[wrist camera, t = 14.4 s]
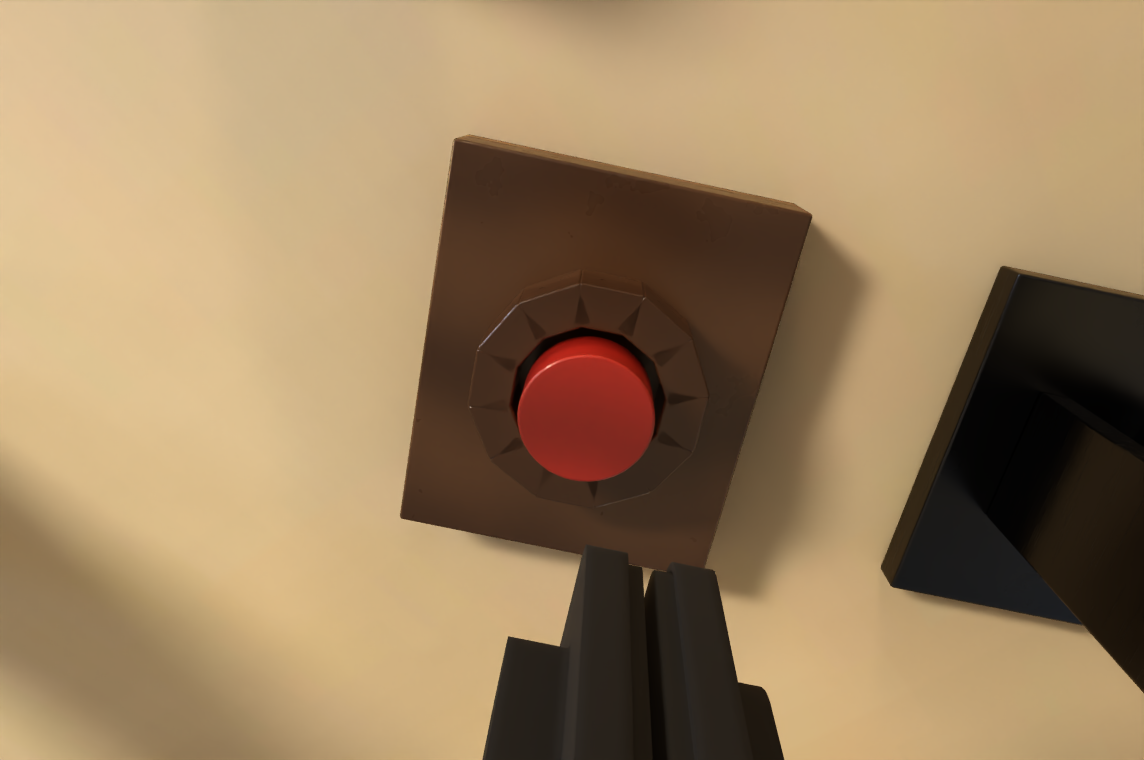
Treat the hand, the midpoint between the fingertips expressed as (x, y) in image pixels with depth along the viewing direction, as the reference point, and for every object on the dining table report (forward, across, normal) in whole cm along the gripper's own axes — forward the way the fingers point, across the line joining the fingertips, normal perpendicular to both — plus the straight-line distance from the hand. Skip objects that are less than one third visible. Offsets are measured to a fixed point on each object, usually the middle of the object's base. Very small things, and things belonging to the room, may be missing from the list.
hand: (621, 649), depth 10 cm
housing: (+16, 0, +2) cm, 16 cm away
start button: (+12, 0, +2) cm, 12 cm away
